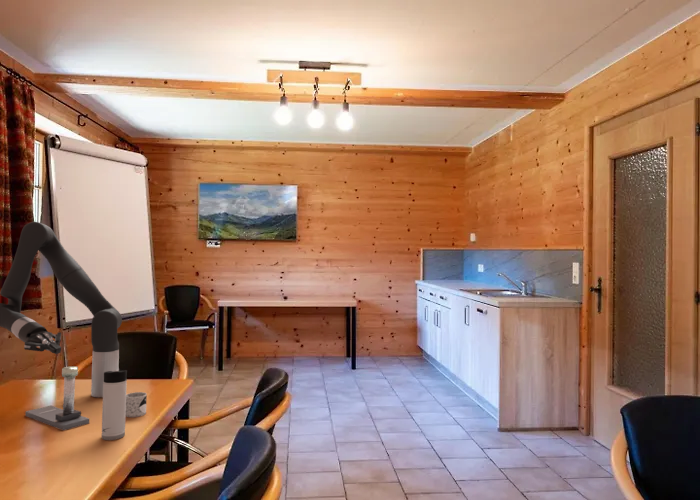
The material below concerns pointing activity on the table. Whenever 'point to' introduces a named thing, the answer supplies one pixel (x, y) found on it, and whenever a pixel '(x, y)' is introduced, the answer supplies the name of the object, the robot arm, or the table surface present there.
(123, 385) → the travel mug
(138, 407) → the mug
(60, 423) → the fader panel
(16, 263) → the robot arm
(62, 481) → the table surface
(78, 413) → the fader
